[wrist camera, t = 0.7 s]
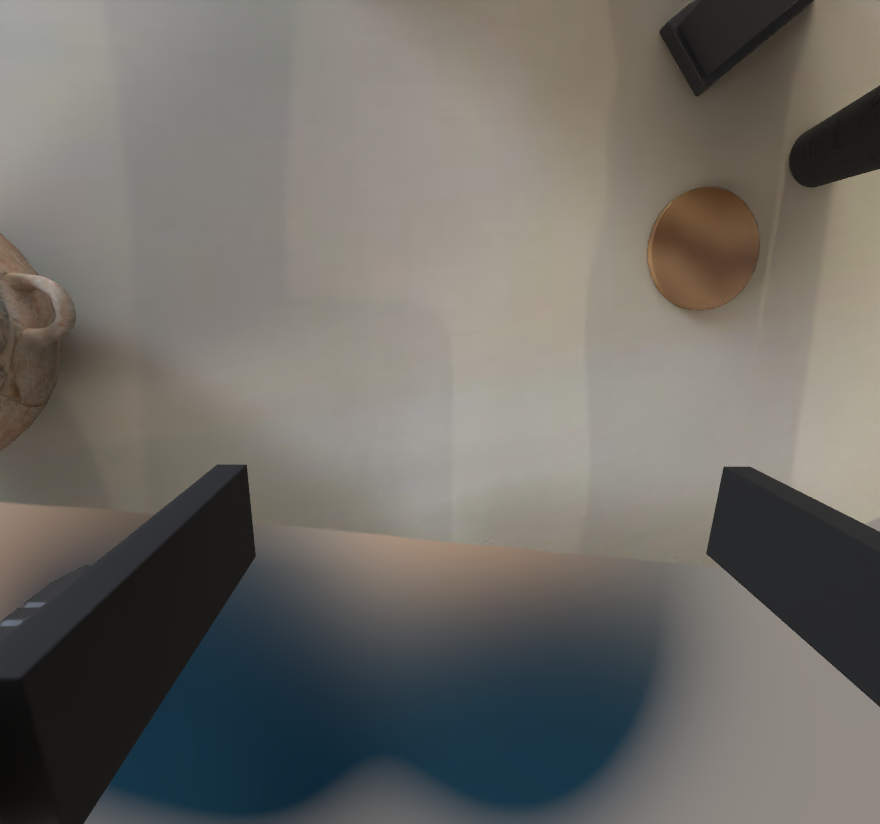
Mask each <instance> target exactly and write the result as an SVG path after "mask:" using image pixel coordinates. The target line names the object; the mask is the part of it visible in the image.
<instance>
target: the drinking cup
mask: <svg viewBox="0 0 880 824" xmlns="http://www.w3.org/2000/svg"><path fill="white" fill-rule="evenodd" d="M790 168H791V172H792V174H793V176H794V178H795V179H796V180H797V181H798V182H799V183H800V184H802V185H804V186H807V187H817V186H821V185H824V184H828V183H831V182H835V181H838V180H842V179H845V178H849V177H852V176H856V175H859V174H863V173H866V172H870V171H873V170H877V169H880V86H878V87H877V88H875V89H873V90H872V91H870V92H869V93H867V94H865V95H864V96H862V97H861V98H859V99H858V100H856V101H854V102H853V103H851V104H850V105H848V106H846V107H845V108H843V109H842V110H840V111H838V112H837V113H835V114H834V115H832V116H831V117H829V118H827V119H826V120H824V121H823V122H821V123H819V124H818V125H816V126H815V127H813V128H811V129H810V130H808V131H807V132H805V133H804V134H802V135H801V136H800V137H799V138H798V139H797V141H796V142H795V144H794V145H793V148H792V150H791V154H790Z"/></svg>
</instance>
